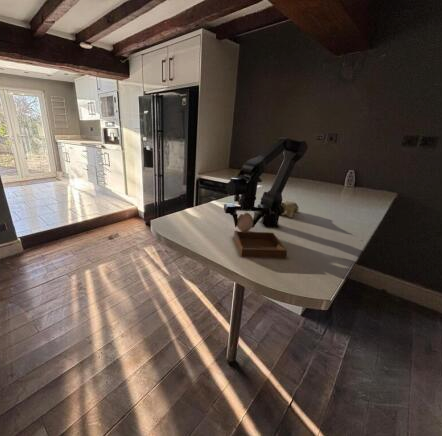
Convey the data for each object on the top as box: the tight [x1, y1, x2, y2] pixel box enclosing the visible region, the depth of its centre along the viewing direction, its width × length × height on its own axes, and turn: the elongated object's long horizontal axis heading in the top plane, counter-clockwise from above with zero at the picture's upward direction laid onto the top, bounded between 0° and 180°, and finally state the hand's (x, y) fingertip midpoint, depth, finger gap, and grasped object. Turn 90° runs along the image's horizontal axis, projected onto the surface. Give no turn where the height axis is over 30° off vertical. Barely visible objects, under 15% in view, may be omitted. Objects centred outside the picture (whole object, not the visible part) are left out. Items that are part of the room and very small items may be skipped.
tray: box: [233, 230, 288, 259], centre depth 88 cm, size 16×15×3 cm
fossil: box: [281, 200, 299, 219], centre depth 124 cm, size 15×10×10 cm
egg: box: [236, 212, 254, 232], centre depth 101 cm, size 7×7×8 cm
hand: (244, 227), depth 102 cm, fingers closed on egg, 7 cm apart
